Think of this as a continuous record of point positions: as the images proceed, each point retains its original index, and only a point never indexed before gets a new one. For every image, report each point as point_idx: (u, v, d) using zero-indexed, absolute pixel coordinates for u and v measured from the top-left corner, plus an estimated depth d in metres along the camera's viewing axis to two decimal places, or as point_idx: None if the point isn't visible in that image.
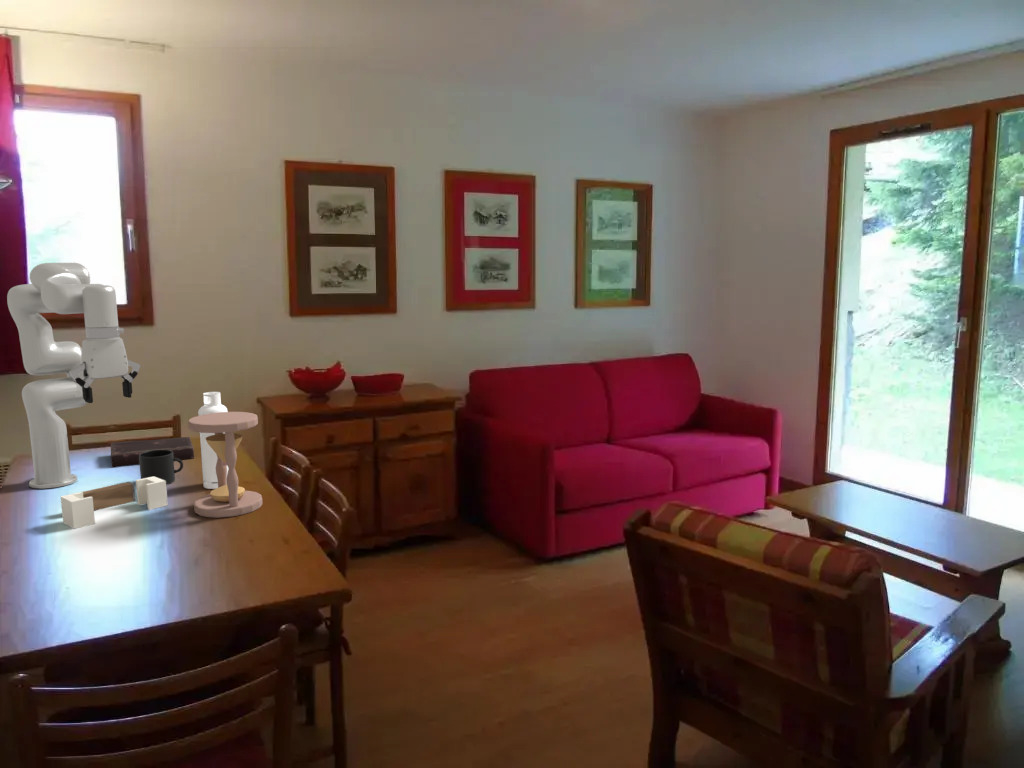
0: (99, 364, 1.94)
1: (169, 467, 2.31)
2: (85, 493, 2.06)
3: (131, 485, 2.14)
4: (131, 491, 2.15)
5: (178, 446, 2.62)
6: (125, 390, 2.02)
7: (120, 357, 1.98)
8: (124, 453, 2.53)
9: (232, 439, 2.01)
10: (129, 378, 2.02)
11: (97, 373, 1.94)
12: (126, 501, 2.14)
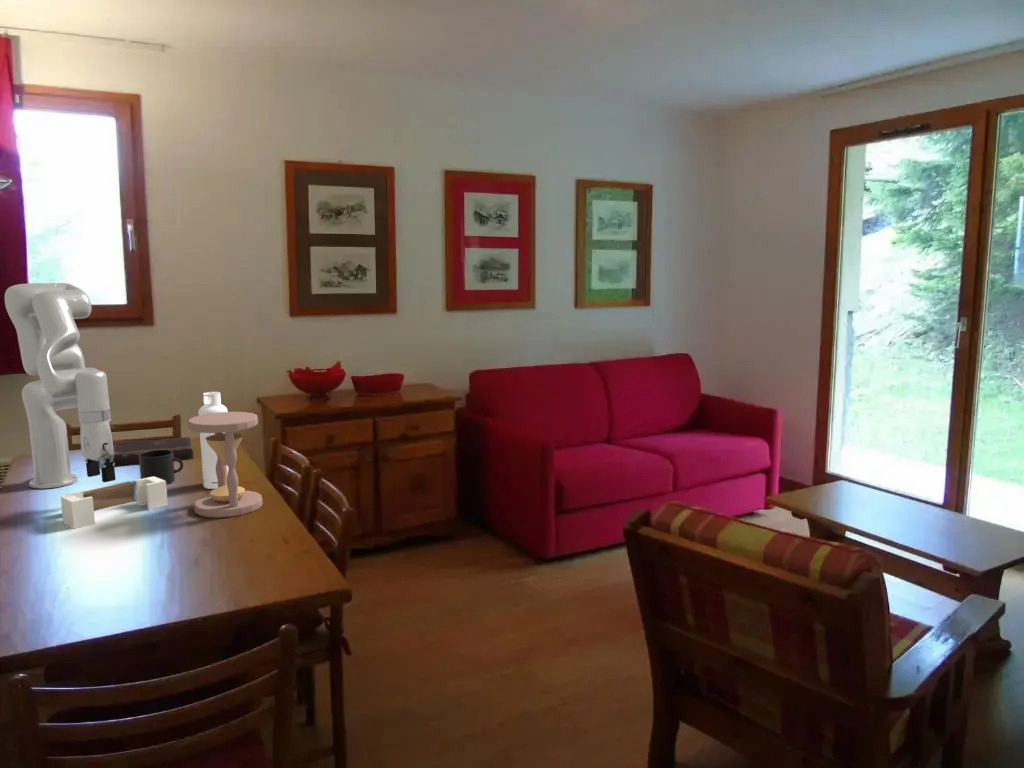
0: None
1: (169, 467, 2.31)
2: (85, 493, 2.06)
3: (131, 485, 2.14)
4: (131, 491, 2.15)
5: (178, 446, 2.62)
6: (94, 469, 2.11)
7: None
8: (123, 453, 2.53)
9: (232, 439, 2.01)
10: None
11: None
12: (126, 501, 2.14)
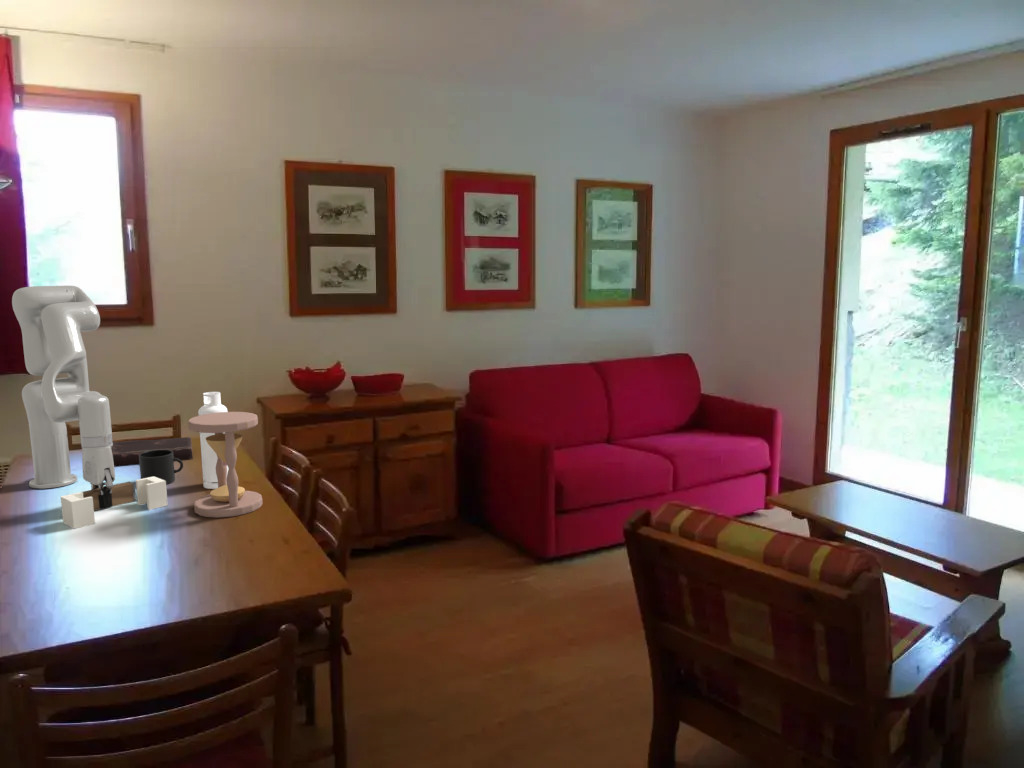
0: None
1: (169, 467, 2.31)
2: (85, 493, 2.06)
3: (131, 485, 2.14)
4: (131, 491, 2.15)
5: (177, 446, 2.61)
6: None
7: None
8: (123, 453, 2.53)
9: (232, 439, 2.01)
10: None
11: None
12: (126, 501, 2.14)
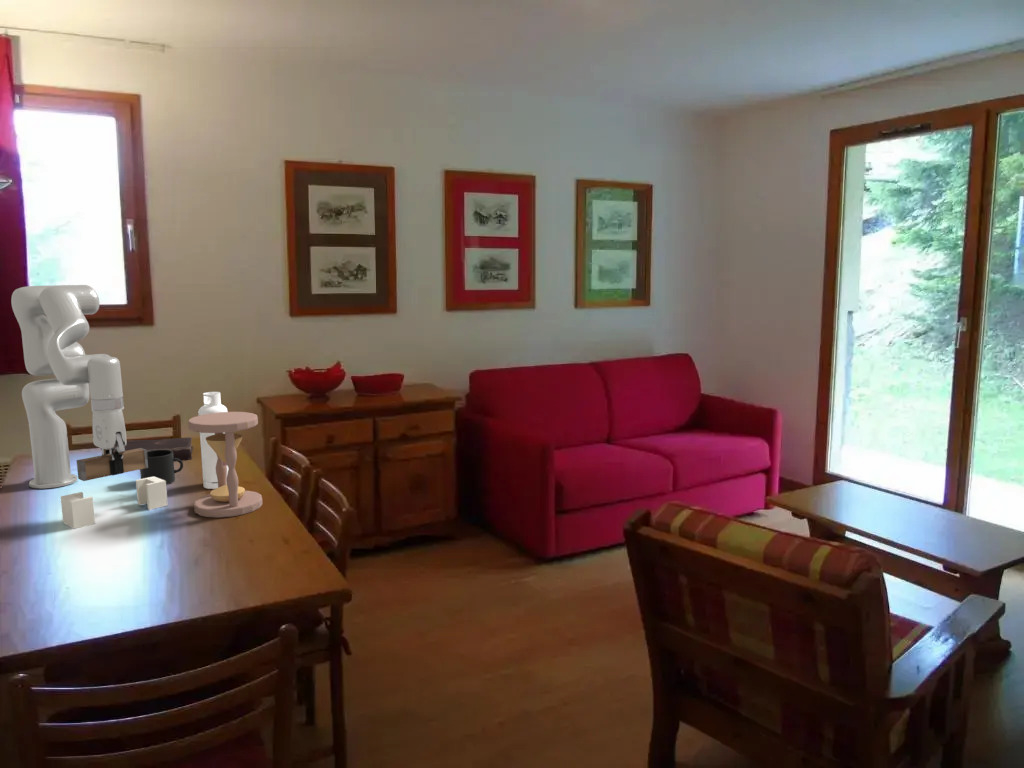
0: None
1: (169, 467, 2.31)
2: (96, 458, 1.98)
3: (143, 451, 2.07)
4: (143, 458, 2.07)
5: (176, 447, 2.61)
6: None
7: None
8: None
9: (232, 439, 2.01)
10: None
11: None
12: (138, 468, 2.06)
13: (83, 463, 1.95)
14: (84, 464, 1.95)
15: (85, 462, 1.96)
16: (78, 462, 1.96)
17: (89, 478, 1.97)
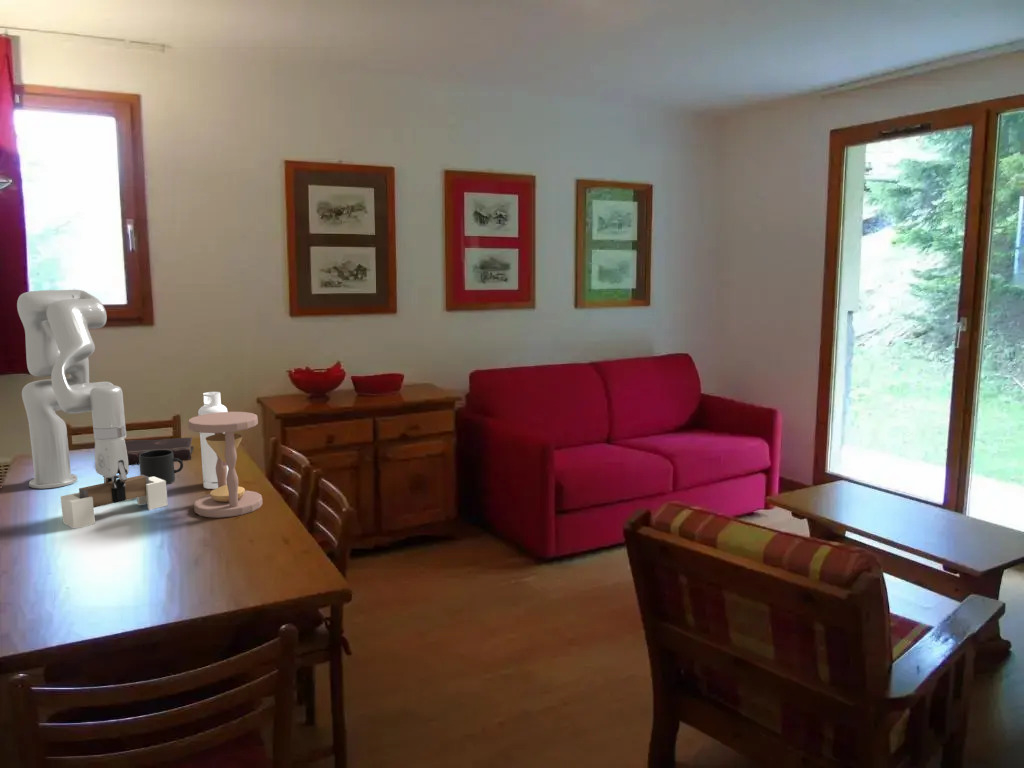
0: None
1: (169, 467, 2.31)
2: (98, 486, 2.00)
3: (145, 478, 2.08)
4: (145, 485, 2.08)
5: (176, 447, 2.61)
6: None
7: None
8: None
9: (232, 439, 2.01)
10: None
11: None
12: (140, 495, 2.07)
13: (85, 492, 1.96)
14: (86, 493, 1.97)
15: (87, 490, 1.97)
16: (80, 490, 1.98)
17: None
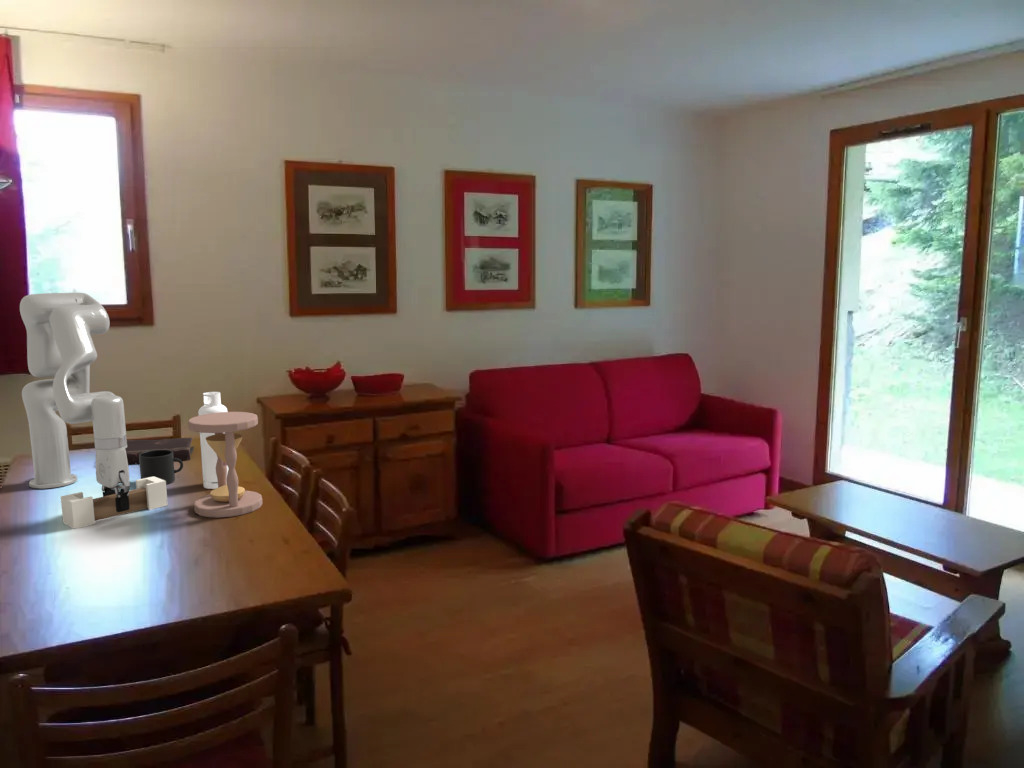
0: None
1: (169, 467, 2.31)
2: (99, 500, 2.00)
3: None
4: (146, 498, 2.09)
5: (176, 447, 2.61)
6: None
7: None
8: None
9: (232, 439, 2.01)
10: None
11: None
12: (141, 508, 2.08)
13: None
14: None
15: None
16: None
17: None
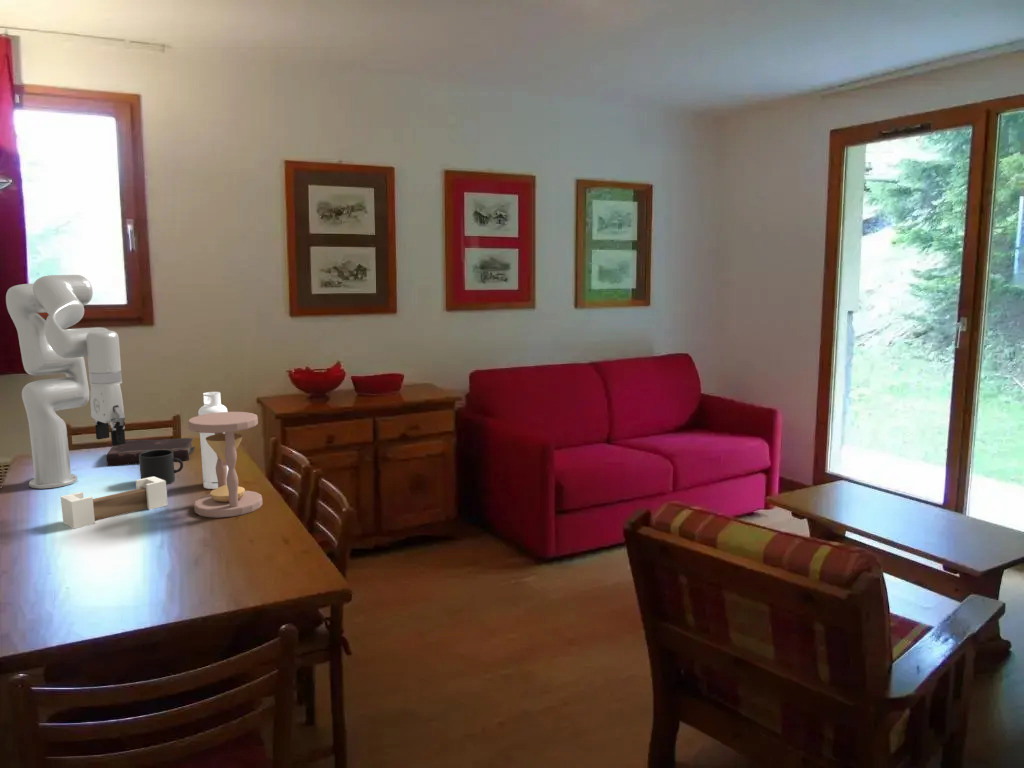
0: None
1: (169, 467, 2.31)
2: (99, 500, 2.00)
3: None
4: (146, 498, 2.09)
5: (175, 447, 2.60)
6: (103, 432, 2.06)
7: None
8: (120, 452, 2.54)
9: (232, 439, 2.01)
10: None
11: None
12: (141, 508, 2.08)
13: None
14: None
15: None
16: None
17: None
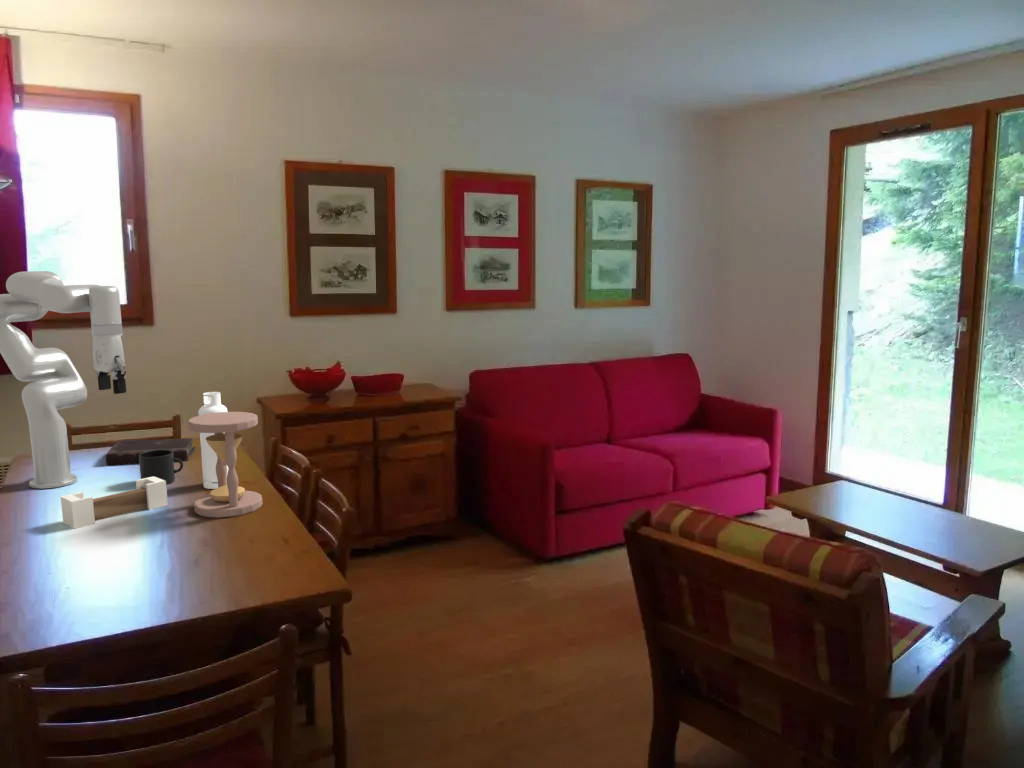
0: None
1: (169, 467, 2.31)
2: (99, 500, 2.00)
3: None
4: (146, 498, 2.09)
5: (174, 447, 2.60)
6: (105, 383, 2.19)
7: None
8: (120, 452, 2.54)
9: (232, 439, 2.01)
10: None
11: None
12: (141, 508, 2.08)
13: None
14: None
15: None
16: None
17: None
